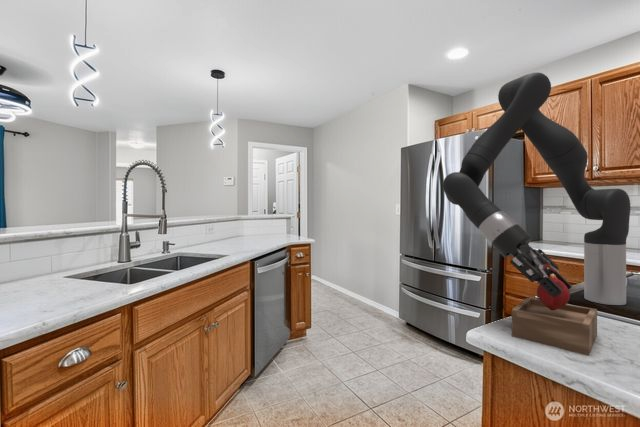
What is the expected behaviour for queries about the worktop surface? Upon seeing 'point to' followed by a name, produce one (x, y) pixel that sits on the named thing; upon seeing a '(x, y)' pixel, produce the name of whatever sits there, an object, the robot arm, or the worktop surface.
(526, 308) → the brown wooden box
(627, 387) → the worktop surface
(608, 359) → the worktop surface
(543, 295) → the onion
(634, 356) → the worktop surface
